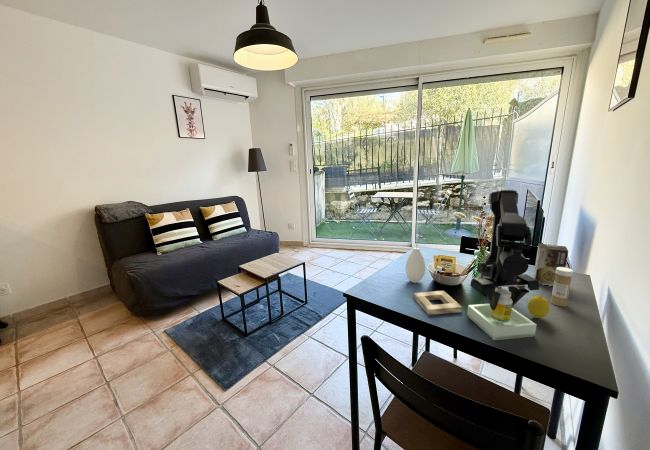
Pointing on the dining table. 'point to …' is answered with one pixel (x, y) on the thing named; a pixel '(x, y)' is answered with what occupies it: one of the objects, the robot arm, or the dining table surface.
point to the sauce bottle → (415, 266)
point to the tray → (499, 331)
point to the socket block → (430, 309)
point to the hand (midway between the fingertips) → (500, 308)
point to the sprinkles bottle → (561, 286)
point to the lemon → (538, 307)
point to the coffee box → (549, 262)
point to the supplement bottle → (502, 307)
